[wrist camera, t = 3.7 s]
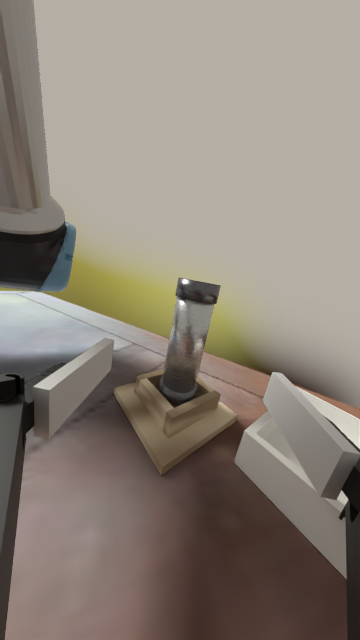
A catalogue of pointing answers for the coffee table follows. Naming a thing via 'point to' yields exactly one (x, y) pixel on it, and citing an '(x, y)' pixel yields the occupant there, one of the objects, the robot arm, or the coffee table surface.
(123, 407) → the socket block
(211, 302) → the capped clear cylinder
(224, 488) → the coffee table surface
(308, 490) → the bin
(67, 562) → the coffee table surface
